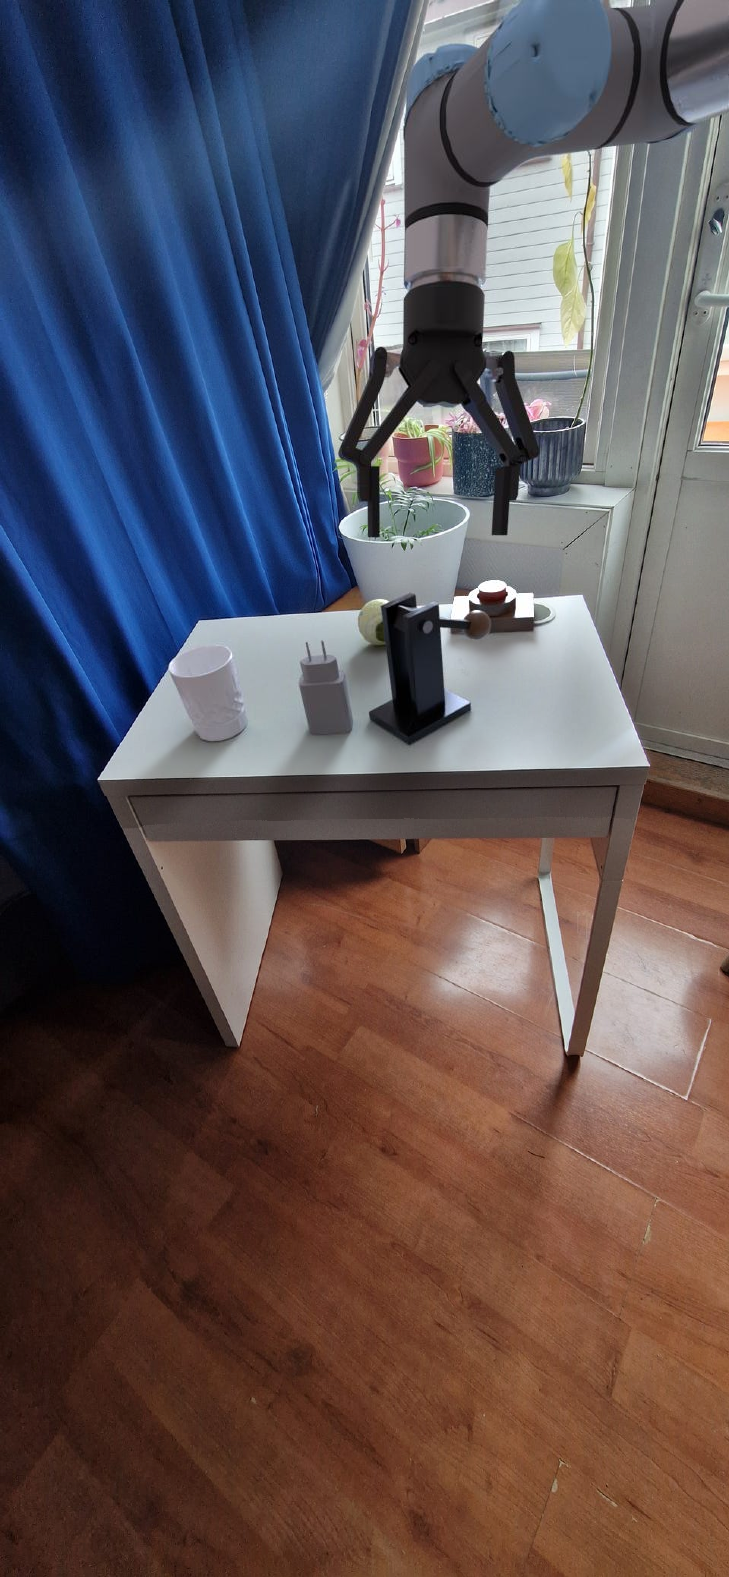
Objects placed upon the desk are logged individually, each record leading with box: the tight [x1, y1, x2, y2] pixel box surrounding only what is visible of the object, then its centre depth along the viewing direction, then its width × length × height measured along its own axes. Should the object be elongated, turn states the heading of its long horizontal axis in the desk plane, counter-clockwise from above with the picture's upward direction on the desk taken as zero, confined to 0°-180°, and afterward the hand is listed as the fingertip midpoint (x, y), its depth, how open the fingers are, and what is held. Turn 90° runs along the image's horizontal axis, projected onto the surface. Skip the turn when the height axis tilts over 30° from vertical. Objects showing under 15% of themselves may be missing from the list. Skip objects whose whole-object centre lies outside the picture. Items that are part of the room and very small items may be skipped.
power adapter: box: [298, 640, 354, 736], centre depth 79 cm, size 3×5×12 cm, turn 86°
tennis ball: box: [357, 598, 390, 647], centre depth 96 cm, size 6×7×7 cm
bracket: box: [368, 592, 472, 746], centre depth 77 cm, size 10×8×15 cm
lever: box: [394, 606, 491, 641], centre depth 77 cm, size 14×4×4 cm, turn 126°
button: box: [478, 580, 507, 602], centre depth 96 cm, size 4×4×2 cm
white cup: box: [167, 644, 248, 742], centre depth 83 cm, size 8×8×10 cm
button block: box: [450, 585, 535, 634], centre depth 98 cm, size 12×8×4 cm, turn 79°
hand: (437, 536), depth 68 cm, fingers open, 13 cm apart
